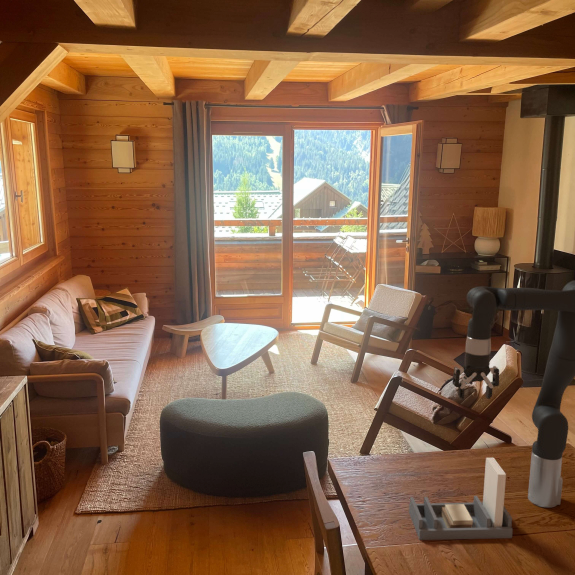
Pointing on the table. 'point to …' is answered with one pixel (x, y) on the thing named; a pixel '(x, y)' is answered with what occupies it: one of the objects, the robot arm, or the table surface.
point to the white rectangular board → (494, 492)
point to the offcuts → (456, 516)
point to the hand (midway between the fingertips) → (474, 398)
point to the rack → (435, 528)
